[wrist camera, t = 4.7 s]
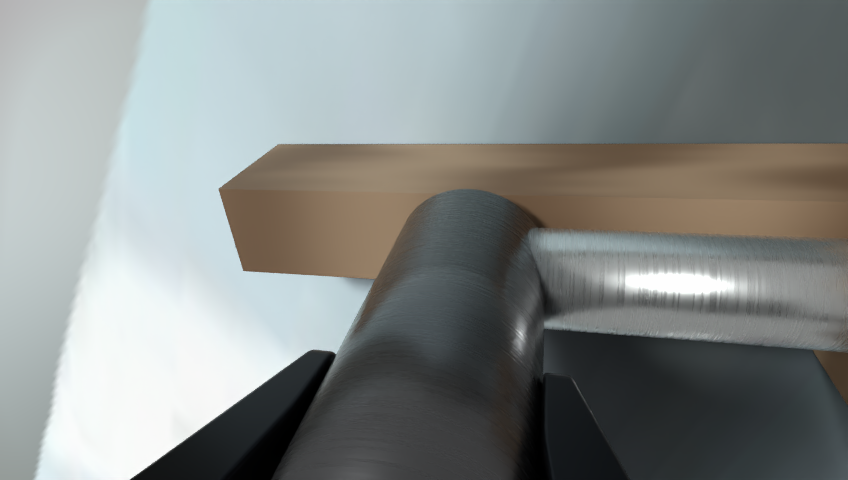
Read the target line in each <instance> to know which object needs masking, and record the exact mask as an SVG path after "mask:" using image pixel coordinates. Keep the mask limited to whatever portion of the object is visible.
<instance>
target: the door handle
mask: <svg viewBox="0 0 848 480" xmlns="http://www.w3.org/2000/svg"><path fill="white" fill-rule="evenodd" d="M544 329H554V330H566V331H579V332H592V333H605V334H618V335H630V336H643V337H656V338H669V339H681V340H694V341H707V342H720V343H733V344H745V345H758V346H771V347H784V348H797V349H809V350H822V351H835V352H848V239H847V238H818V237H790V236H761V235H732V234H703V233H674V232H646V231H617V230H588V229H559V228H537V226H536V224H535V223H534V222H533V220H532V219H531V218H530V217H529V216H528V215H527V213H526V212H525V211H524V210H522V209H521V208H520V207H519V206H517V205H516V204H514V203H513V202H511V201H510V200H508V199H506V198H504V197H502V196H500V195H497V194H494V193H491V192H488V191H483V190H477V189H456V190H450V191H446V192H443V193H439V194H437V195H435V196H432V197H430V198H429V199H427V200H425V201H424V202H422V203H421V204H420V205H419V206H418V207H416V208H415V210H414V211H413V212H412V213H411V214H410V215H409V217H408V219H407V220H406V222H405V224H404V226H403V228H402V230H401V231H400V233H399V235H398V237H397V239H396V241H395V243H394V245H393V247H392V249H391V251H390V253H389V254H388V256H387V258H386V260H385V262H384V264H383V266H382V268H381V270H380V272H379V274H378V276H377V277H376V279H375V281H374V283H373V285H372V287H371V289H370V291H369V293H368V295H367V297H366V299H365V300H364V302H363V304H362V306H361V308H360V310H359V312H358V314H357V316H356V318H355V320H354V322H353V323H352V325H351V327H350V329H349V331H348V333H347V335H346V337H345V339H344V341H343V343H342V345H341V346H340V348H339V350H338V352H337V354H336V356H335V358H334V360H333V362H332V364H331V366H330V368H329V370H328V371H327V373H326V375H325V377H324V379H323V381H322V383H321V385H320V387H319V389H318V391H317V393H316V394H315V396H314V398H313V400H312V402H311V404H310V406H309V408H308V410H307V412H306V414H305V416H304V417H303V419H302V421H301V423H300V425H299V427H298V429H297V431H296V433H295V435H294V437H293V439H292V440H291V442H290V444H289V446H288V448H287V450H286V452H285V454H284V456H283V458H282V460H281V462H280V463H279V465H278V467H277V469H276V471H275V473H274V475H273V477H272V479H271V480H540V429H541V392H542V376H543V357H544Z"/></svg>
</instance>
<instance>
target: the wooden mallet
mask: <svg viewBox="0 0 848 480" xmlns="http://www.w3.org/2000/svg"><path fill="white" fill-rule="evenodd" d="M456 189H477V190H483V191H488V192H491V193H494V194H497V195H500V196H502V197H504V198H506V199H508V200H510V201H511V202H513V203H514V204H516V205H517V206H519V207H520V208H521V209H522V210H524V211H525V212H526V213H527V215H528V216H529V217H530V218H531V219H532V220H533V222H534V223H535V224H536V226H537V228H559V229H588V230H617V231H646V232H674V233H703V234H732V235H761V236H790V237H818V238H847V239H848V144H278V145H277V146H275V147H274V148H273V149H271V150H270V151H269V152H267V153H266V154H265V155H263V156H262V157H261V158H259V159H258V160H257V161H255V162H254V163H253V164H251V165H250V166H249V167H247V168H246V169H245V170H243V171H242V172H241V173H239V174H238V175H237V176H235V177H234V178H233V179H231V180H230V181H229V182H227V183H226V184H224V185H223V186H222V187H220V188H219V192H220V196H221V199H222V202H223V205H224V209H225V212H226V215H227V218H228V222H229V225H230V228H231V232H232V235H233V238H234V241H235V245H236V248H237V251H238V255H239V258H240V261H241V264H242V268H243V271H252V272H269V273H285V274H301V275H318V276H334V277H350V278H367V279H376V277H377V276H378V274H379V272H380V270H381V268H382V266H383V264H384V262H385V260H386V258H387V256H388V254H389V253H390V251H391V249H392V247H393V245H394V243H395V241H396V239H397V237H398V235H399V233H400V231H401V230H402V228H403V226H404V224H405V222H406V220H407V219H408V217H409V215H410V214H411V213H412V212H413V211H414V210H415V208H416V207H418V206H419V205H420V204H421V203H422V202H424V201H425V200H427V199H429V198H430V197H432V196H435V195H437V194H439V193H443V192H446V191H450V190H456ZM813 352H814V353H815V355H816V356H817V358H818V360H819V361H820V363H821V364H822V366H823V368H824V369H825V371H826V372H827V374H828V375H829V377H830V379H831V380H832V382H833V383H834V385H835V386H836V388H837V390H838V391H839V393H840V394H841V396H842V398H843V399H844V401H845V402H846V404H847V405H848V352H835V351H822V350H813Z"/></svg>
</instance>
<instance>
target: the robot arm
mask: <svg viewBox="0 0 848 480" xmlns="http://www.w3.org/2000/svg"><path fill="white" fill-rule="evenodd" d="M335 356H336V354H335V353H334V352H331V351H322V350H311V351H308V352H307V353H305V354H304V355H303V356H301V357H300V358H298V359H297V360H296V361H294V362H293V363H291V364H290V365H289V366H287V367H286V368H284V369H283V370H282V371H280V372H279V373H277V374H276V375H275V376H273V377H272V378H271V379H269V380H268V381H266V382H265V383H264V384H262V385H261V386H259V387H258V388H257V389H255V390H254V391H252V392H251V393H250V394H248V395H247V396H246V397H244V398H243V399H241V400H240V401H239V402H237V403H236V404H234V405H233V406H232V407H230V408H229V409H227V410H226V411H225V412H223V413H222V414H220V415H219V416H218V417H216V418H215V419H214V420H212V421H211V422H209V423H208V424H207V425H205V426H204V427H202V428H201V429H200V430H198V431H197V432H195V433H194V434H193V435H191V436H190V437H189V438H187V439H186V440H184V441H183V442H182V443H180V444H179V445H177V446H176V447H175V448H173V449H172V450H170V451H169V452H168V453H166V454H165V455H164V456H162V457H161V458H159V459H158V460H157V461H155V462H154V463H152V464H151V465H150V466H148V467H147V468H145V469H144V470H143V471H141V472H140V473H138V474H137V475H136V476H134V477H133V478H132V479H130V480H271V479H272V477H273V475H274V473H275V471H276V469H277V467H278V465H279V463H280V462H281V460H282V458H283V456H284V454H285V452H286V450H287V448H288V446H289V444H290V442H291V440H292V439H293V437H294V435H295V433H296V431H297V429H298V427H299V425H300V423H301V421H302V419H303V417H304V416H305V414H306V412H307V410H308V408H309V406H310V404H311V402H312V400H313V398H314V396H315V394H316V393H317V391H318V389H319V387H320V385H321V383H322V381H323V379H324V377H325V375H326V373H327V371H328V370H329V368H330V366H331V364H332V362H333V360H334V358H335ZM540 480H630V478H629V477H628V475H627V473H626V471H625V469H624V468H623V466H622V464H621V462H620V461H619V459H618V457H617V455H616V454H615V452H614V450H613V448H612V446H611V445H610V443H609V441H608V439H607V438H606V436H605V434H604V432H603V431H602V429H601V427H600V425H599V424H598V422H597V420H596V418H595V416H594V415H593V413H592V411H591V409H590V408H589V406H588V404H587V402H586V401H585V399H584V397H583V395H582V393H581V392H580V390H579V388H578V386H577V385H576V383H575V381H574V380H573V378H572V377H571V376H569V375H562V374H553V373H545V374H544V375H543V376H542V392H541V429H540Z"/></svg>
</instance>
